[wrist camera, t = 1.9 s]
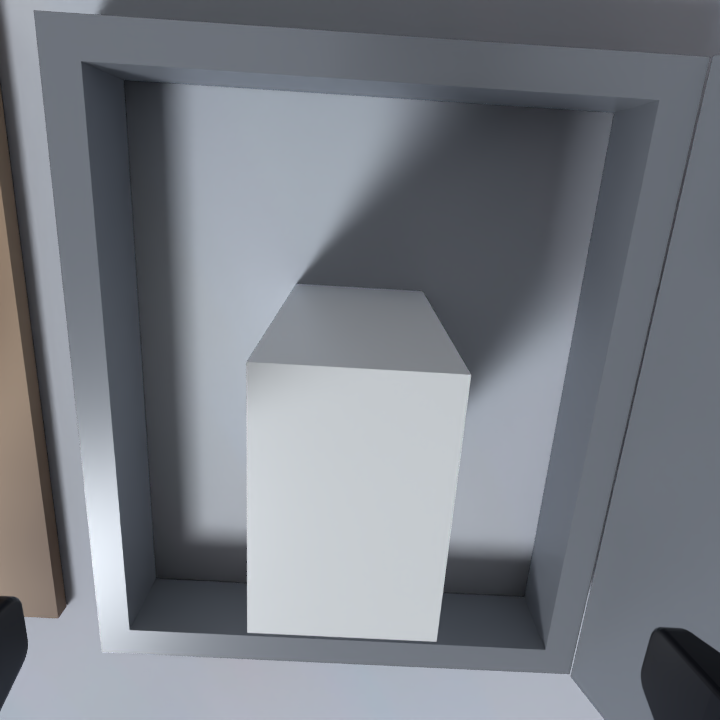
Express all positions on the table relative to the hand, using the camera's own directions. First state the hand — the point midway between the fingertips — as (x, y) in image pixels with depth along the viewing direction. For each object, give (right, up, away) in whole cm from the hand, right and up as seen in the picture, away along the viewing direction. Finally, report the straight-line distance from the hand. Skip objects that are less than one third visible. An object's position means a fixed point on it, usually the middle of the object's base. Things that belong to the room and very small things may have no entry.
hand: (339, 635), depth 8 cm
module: (0, +3, +10) cm, 11 cm away
